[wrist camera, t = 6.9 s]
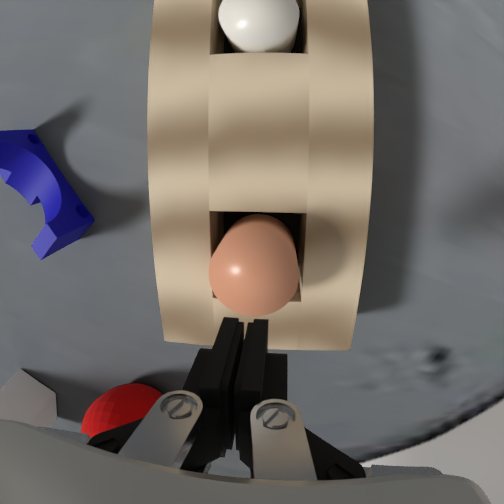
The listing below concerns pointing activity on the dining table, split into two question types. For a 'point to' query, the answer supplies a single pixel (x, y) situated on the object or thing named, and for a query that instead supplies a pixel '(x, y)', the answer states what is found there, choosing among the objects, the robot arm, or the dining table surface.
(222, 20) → the white domed cylinder
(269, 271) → the peach rounded piece
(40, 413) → the milk carton
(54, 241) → the cable clip
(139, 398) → the tomato
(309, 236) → the housing
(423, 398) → the dining table surface
